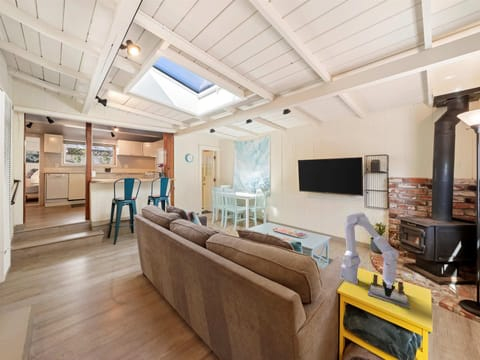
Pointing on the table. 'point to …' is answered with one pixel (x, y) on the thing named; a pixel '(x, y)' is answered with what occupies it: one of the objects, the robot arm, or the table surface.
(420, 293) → the table surface
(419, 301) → the table surface
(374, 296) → the mat
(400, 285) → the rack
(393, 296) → the rail
